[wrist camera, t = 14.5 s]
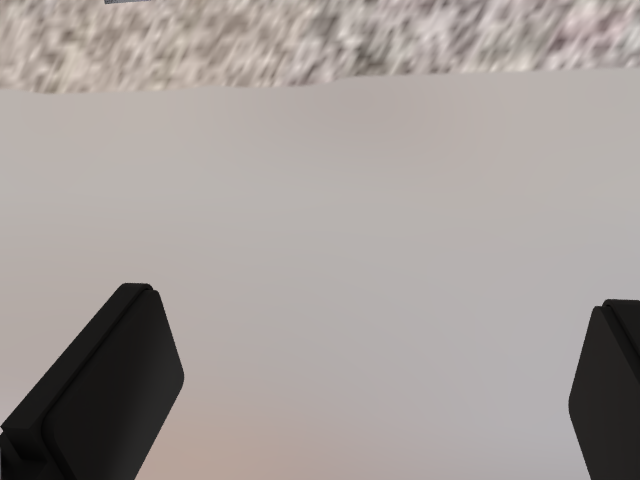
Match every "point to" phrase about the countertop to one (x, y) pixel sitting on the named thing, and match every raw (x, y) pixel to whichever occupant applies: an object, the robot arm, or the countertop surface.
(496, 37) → the countertop surface
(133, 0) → the bracket
